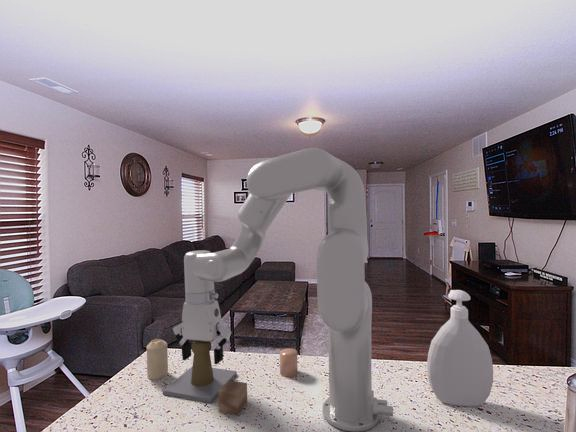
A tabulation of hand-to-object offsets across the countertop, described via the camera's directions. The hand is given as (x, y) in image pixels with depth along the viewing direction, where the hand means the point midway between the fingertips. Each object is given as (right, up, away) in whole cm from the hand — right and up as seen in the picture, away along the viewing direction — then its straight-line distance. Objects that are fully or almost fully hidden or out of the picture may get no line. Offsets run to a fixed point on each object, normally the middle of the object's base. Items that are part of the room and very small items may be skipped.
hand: (202, 360), depth 88 cm
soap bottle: (+64, -6, -9) cm, 65 cm away
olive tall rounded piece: (0, -6, 0) cm, 6 cm away
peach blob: (+23, -6, +6) cm, 25 cm away
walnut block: (+10, -7, -10) cm, 16 cm away
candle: (-14, -7, +6) cm, 17 cm away
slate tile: (0, -7, 0) cm, 7 cm away
